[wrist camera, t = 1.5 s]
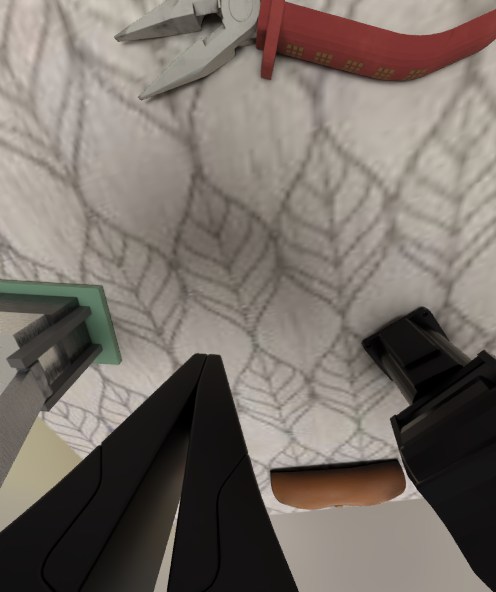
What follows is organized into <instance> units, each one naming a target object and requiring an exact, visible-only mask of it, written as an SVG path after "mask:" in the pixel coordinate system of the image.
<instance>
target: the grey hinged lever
mask: <svg viewBox="0 0 496 592" xmlns="http://www.w3.org/2000/svg"><path fill="white" fill-rule="evenodd" d="M16 370H17V371H18V372H17V373H16V375H15V376H14V377H13V379H12V380H11V382H10V383H9V384H8V386H7V387H6V388H5V390H4V391H3V393H2V394H1V395H0V488H1V486H2V484H3V482H4V480H5V478H6V476H7V474H8V472H9V470H10V468H11V466H12V464H13V462H14V461H15V459H16V457H17V455H18V453H19V451H20V449H21V447H22V445H23V443H24V441H25V439H26V437H27V435H28V433H29V431H30V429H31V427H32V425H33V423H34V422H35V420H36V418H37V416H38V414H39V412H40V410H41V408H42V406H43V404H44V402H45V400H46V399H47V398H48V397H50V396H51V395H52V393H53V389H52V387H51V385H50V383H49V380H48V378H47V376H46V374H45V372H44V370H43V368H42V366H41V364H40V362H39V360H38V359H37V360H36V361H34V362H33V363H32V364H31V365H30V366H28V367H27V368H26V369H24V368H16Z"/></svg>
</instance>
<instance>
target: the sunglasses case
mask: <svg viewBox="0 0 496 592" xmlns="http://www.w3.org/2000/svg"><path fill="white" fill-rule="evenodd" d="M270 476H271V487H272V491H273V494H274V496H275V497H276V499H277V500H278V501H279V502H280V503H282V504H285V505H289V506H292V507H296V508H300V509H309V510H310V509H311V510H312V509H321V508H325V507H330V506H335V507H336V508H341V507H343V505H349V506H371V505H376V504H380V503H383V502H386V501H389V500H391V499H393V498H395V497H397V496H399V495H401V494H402V493H403V492H404V491H405V488H406V480H405V475H404V473H403V469H402V467H401V465H400V463H399V462H398V460H395V461H390V462H385V463H378V464H371V465H367V466H359V467H354V468H351V469H346V468H343V469H327V470H321V471H300V472H285V473H273V472H272V471H270Z"/></svg>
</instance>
